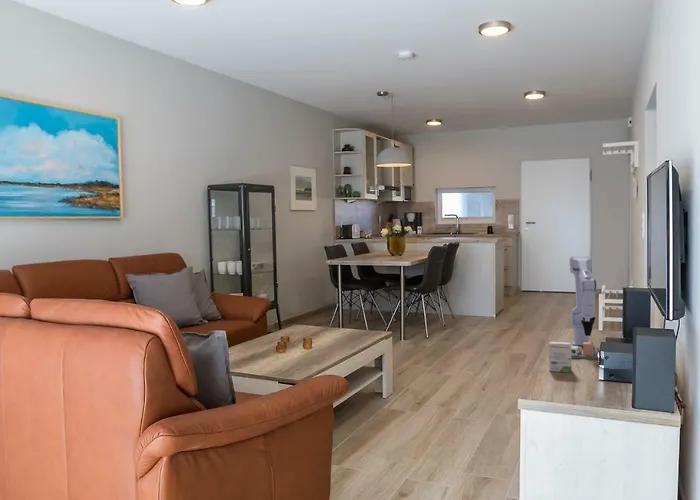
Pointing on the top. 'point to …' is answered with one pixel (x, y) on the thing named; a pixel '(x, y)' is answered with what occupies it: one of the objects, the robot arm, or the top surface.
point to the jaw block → (587, 348)
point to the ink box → (560, 357)
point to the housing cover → (574, 349)
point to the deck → (580, 355)
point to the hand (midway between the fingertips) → (588, 334)
